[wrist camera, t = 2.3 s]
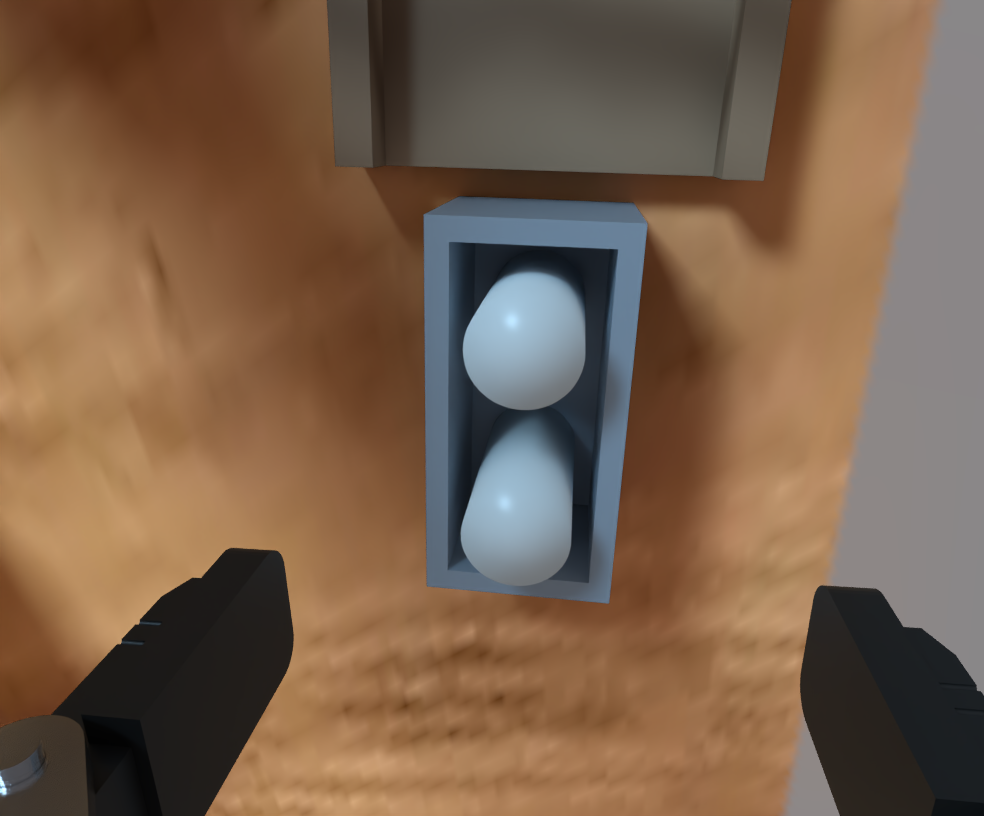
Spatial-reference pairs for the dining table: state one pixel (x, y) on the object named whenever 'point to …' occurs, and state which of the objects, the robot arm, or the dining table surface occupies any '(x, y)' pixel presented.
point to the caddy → (528, 391)
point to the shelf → (557, 84)
